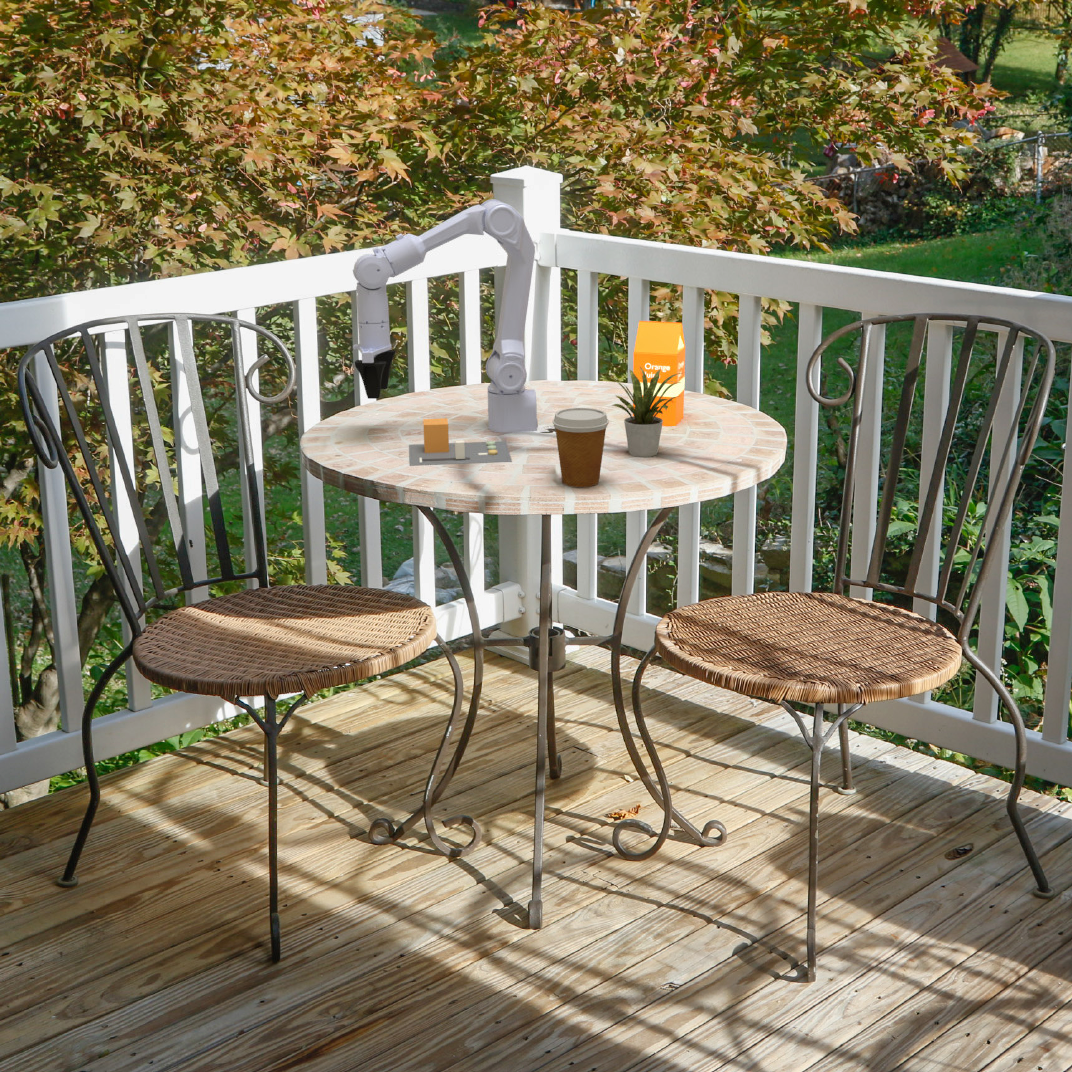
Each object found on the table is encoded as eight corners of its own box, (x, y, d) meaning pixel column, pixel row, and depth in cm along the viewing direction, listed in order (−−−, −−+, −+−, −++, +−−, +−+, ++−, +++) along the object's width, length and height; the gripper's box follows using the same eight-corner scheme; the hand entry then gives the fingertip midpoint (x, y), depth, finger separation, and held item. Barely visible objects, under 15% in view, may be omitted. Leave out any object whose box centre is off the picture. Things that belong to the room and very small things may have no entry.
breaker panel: (506, 448, 244) (505, 438, 243) (512, 469, 231) (511, 458, 230) (409, 452, 242) (408, 441, 242) (409, 473, 229) (409, 462, 229)
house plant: (704, 453, 240) (707, 365, 234) (656, 468, 230) (657, 377, 225) (644, 439, 249) (646, 354, 244) (596, 454, 240) (596, 366, 235)
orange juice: (675, 427, 258) (677, 326, 251) (632, 424, 261) (633, 324, 254) (683, 417, 265) (686, 319, 258) (641, 415, 268) (643, 317, 261)
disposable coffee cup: (612, 489, 219) (612, 419, 215) (555, 491, 219) (554, 421, 215) (604, 473, 228) (605, 406, 224) (550, 475, 228) (549, 407, 224)
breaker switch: (464, 456, 233) (463, 440, 232) (464, 458, 232) (464, 442, 231) (455, 456, 233) (454, 440, 232) (455, 459, 231) (455, 442, 230)
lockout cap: (448, 445, 241) (447, 418, 239) (449, 452, 237) (448, 424, 235) (424, 446, 240) (423, 419, 239) (424, 453, 236) (423, 425, 235)
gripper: (360, 314, 248) (364, 384, 253) (343, 328, 234) (348, 402, 239) (397, 314, 247) (400, 384, 252) (382, 328, 234) (386, 402, 238)
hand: (377, 393), depth 245 cm, fingers open, 7 cm apart
